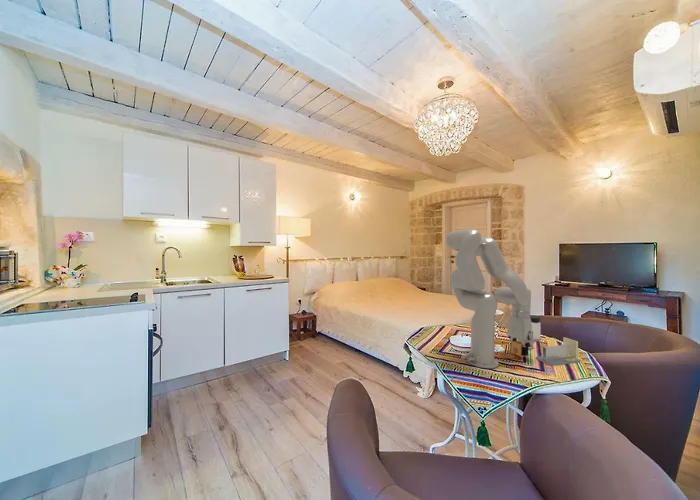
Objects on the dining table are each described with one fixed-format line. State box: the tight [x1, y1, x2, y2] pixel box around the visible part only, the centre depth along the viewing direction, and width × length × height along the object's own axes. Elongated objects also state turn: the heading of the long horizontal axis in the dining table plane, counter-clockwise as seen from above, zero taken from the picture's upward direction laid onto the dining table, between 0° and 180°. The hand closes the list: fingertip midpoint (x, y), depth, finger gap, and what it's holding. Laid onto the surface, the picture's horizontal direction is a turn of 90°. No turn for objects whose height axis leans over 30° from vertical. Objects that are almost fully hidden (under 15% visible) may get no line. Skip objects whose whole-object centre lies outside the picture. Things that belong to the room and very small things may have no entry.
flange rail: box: [535, 337, 581, 367], centre depth 128 cm, size 16×8×9 cm, turn 105°
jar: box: [530, 314, 542, 341], centre depth 162 cm, size 9×8×12 cm
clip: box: [510, 340, 526, 357], centre depth 133 cm, size 4×5×6 cm
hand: (519, 352), depth 133 cm, fingers closed on clip, 5 cm apart
